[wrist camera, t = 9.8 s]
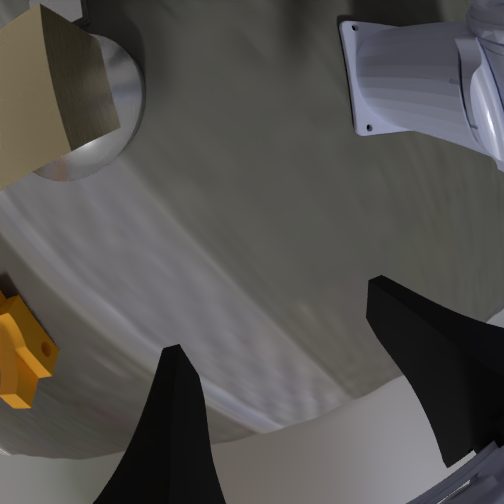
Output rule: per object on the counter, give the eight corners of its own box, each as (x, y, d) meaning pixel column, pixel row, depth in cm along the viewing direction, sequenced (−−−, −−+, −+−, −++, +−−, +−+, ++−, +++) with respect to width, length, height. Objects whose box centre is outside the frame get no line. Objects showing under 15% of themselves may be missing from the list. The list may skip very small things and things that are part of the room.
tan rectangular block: (99, 40, 10) (40, 3, 4) (121, 127, 12) (71, 151, 6) (19, 83, 9) (-66, 90, 3) (41, 164, 12) (-34, 214, 6)
